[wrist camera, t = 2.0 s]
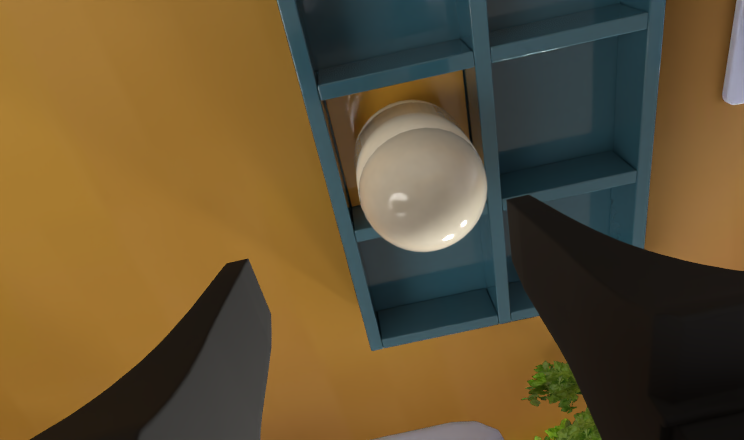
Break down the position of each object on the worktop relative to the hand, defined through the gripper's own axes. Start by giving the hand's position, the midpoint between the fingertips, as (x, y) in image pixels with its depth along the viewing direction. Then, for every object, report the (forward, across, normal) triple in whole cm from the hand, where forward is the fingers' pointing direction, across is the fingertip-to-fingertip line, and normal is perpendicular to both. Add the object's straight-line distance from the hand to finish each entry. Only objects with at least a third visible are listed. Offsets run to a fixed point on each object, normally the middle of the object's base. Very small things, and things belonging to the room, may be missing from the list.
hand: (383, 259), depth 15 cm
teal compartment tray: (+10, -5, 0) cm, 11 cm away
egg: (+9, -2, 0) cm, 9 cm away
